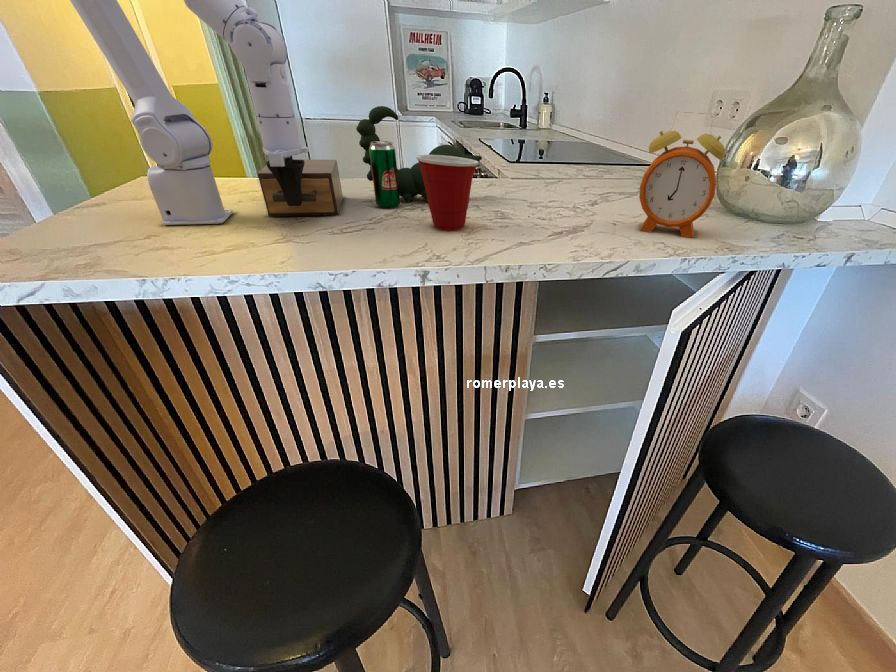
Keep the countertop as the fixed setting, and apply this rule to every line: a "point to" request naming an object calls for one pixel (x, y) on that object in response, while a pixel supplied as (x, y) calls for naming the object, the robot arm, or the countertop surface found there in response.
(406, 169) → the toy figurine
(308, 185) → the drawer
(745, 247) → the countertop surface
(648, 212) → the alarm clock
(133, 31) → the robot arm
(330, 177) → the cabinet
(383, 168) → the soda can
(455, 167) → the plastic cup
